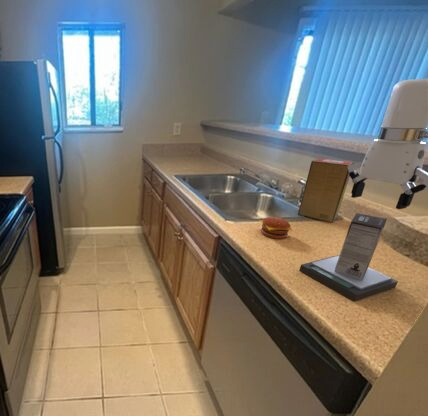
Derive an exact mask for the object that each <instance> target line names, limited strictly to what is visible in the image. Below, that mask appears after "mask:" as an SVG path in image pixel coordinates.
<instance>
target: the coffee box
mask: <svg viewBox="0 0 428 416" xmlns="http://www.w3.org/2000/svg"><path fill="white" fill-rule="evenodd" d="M387 219H388V218H387V217H386V218H385V217H380V216H375V215H369V214H365V213H360V212H356V213H355V214H354V216H353V217H352V220H351V221H350V224H349V227H348V229H347V232H346V236H345V238H344V241H343V244H342V247H341V250H340V253H339V255H340V256H339V259H338V261H337V264H336V267H335V272H337V273H340V274H343V275H346V276H349V277H352V278H355V279H358V280H363V278H364V276H365V273H366V271H367V269H368V268H369V267H370V264H371V262H372V259H373V256H374V254H375V251H376V249H377V247H378V244H379V241H380V238H381V236H382V235H383V231H384V229H385V226H386V223H387Z"/></svg>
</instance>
